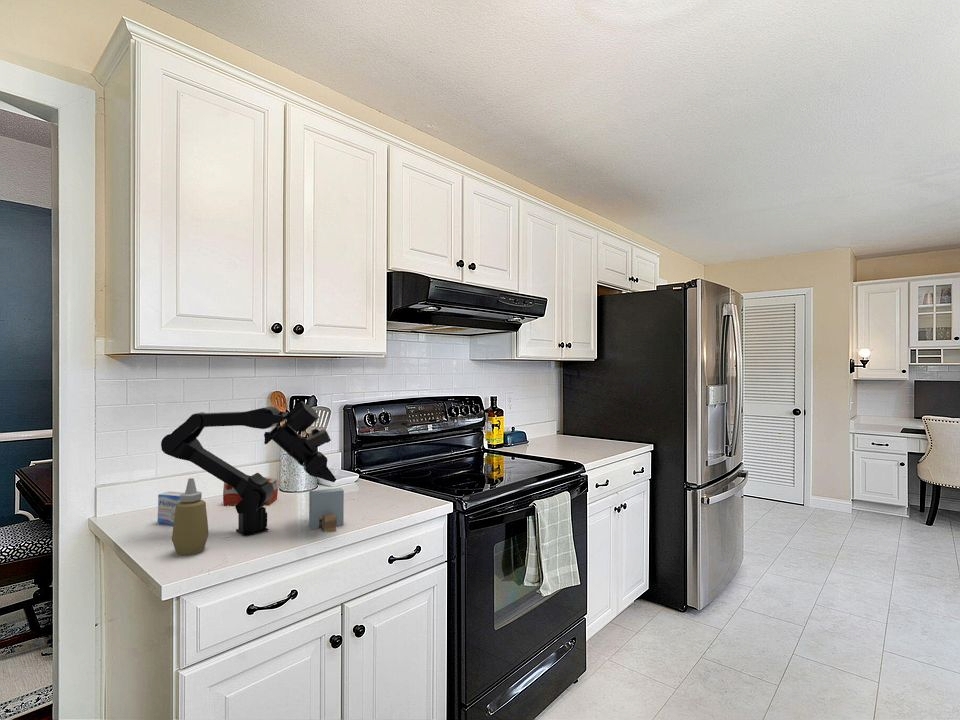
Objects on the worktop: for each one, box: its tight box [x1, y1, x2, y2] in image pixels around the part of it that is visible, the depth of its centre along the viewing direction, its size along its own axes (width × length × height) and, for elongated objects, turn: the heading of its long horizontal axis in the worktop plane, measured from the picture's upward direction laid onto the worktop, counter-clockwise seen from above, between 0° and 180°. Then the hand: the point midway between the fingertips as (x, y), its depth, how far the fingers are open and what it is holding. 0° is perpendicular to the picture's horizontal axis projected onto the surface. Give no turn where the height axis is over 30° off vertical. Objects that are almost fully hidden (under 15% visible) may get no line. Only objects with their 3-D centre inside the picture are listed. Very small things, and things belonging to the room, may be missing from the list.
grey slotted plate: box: [308, 487, 345, 530], centre depth 149 cm, size 9×4×10 cm, turn 117°
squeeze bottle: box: [171, 477, 210, 556], centre depth 128 cm, size 8×8×18 cm
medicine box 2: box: [222, 476, 279, 507], centre depth 173 cm, size 15×8×8 cm, turn 94°
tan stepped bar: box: [319, 514, 337, 533], centre depth 149 cm, size 12×3×4 cm, turn 28°
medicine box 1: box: [157, 491, 183, 526], centre depth 150 cm, size 8×4×9 cm, turn 76°
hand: (331, 477), depth 149 cm, fingers open, 9 cm apart
